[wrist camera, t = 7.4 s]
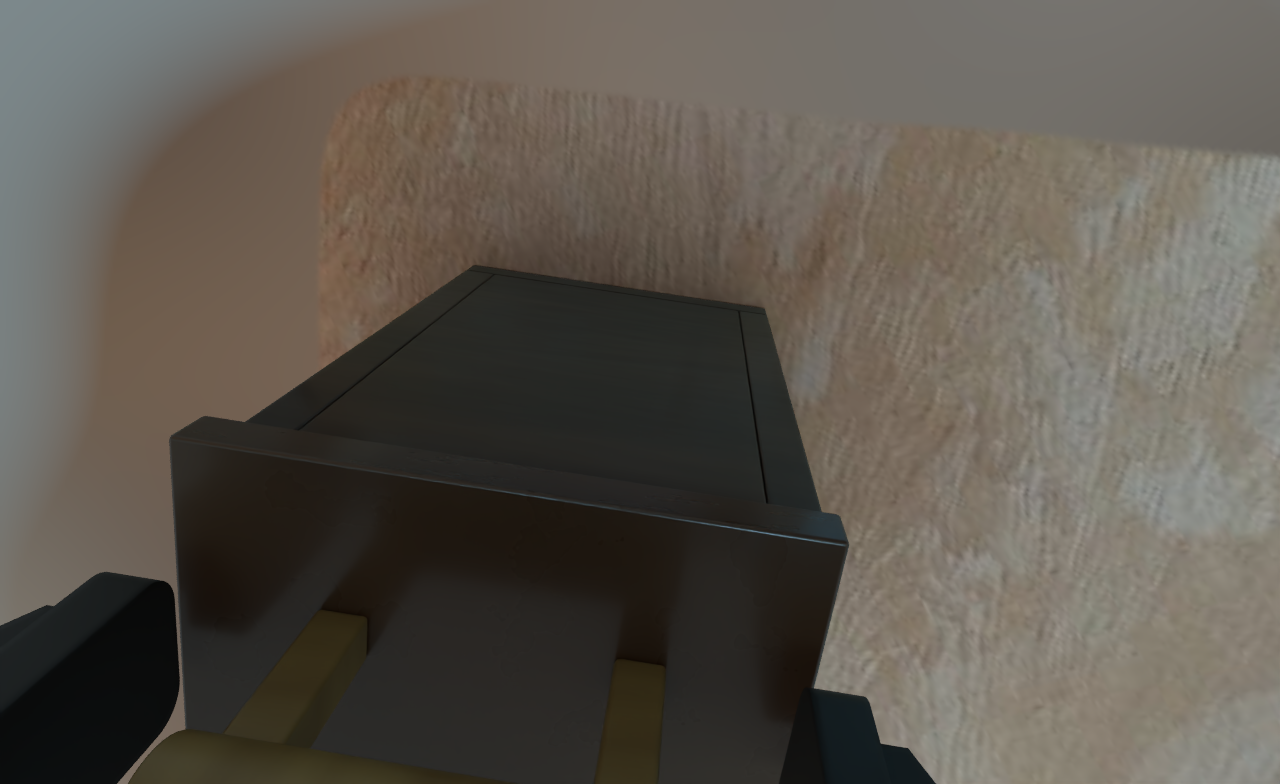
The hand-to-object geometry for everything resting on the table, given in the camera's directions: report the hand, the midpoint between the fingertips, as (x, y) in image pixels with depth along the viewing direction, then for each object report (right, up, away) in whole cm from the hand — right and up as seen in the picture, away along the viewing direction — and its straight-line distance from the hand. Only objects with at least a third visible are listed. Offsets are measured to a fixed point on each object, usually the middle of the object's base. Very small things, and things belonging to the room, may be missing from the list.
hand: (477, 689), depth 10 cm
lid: (0, -2, +2) cm, 3 cm away
